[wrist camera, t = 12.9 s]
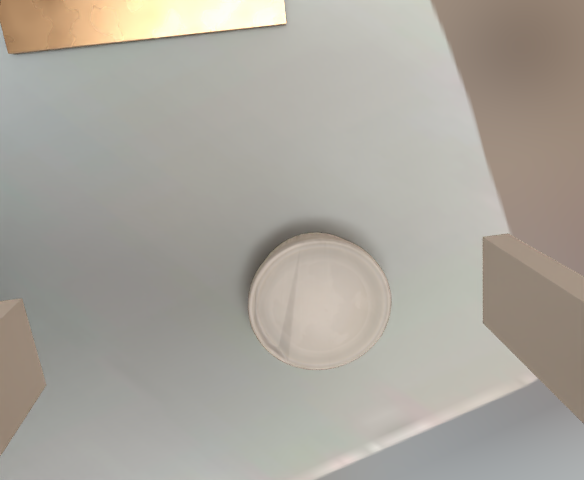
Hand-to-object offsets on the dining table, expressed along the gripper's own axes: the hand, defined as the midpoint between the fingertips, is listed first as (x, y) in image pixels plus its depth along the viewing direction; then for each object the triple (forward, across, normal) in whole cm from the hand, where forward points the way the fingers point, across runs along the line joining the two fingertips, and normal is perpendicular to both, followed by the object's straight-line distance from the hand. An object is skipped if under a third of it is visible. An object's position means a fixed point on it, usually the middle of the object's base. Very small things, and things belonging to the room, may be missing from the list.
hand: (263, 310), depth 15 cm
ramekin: (+29, +4, -11) cm, 31 cm away
